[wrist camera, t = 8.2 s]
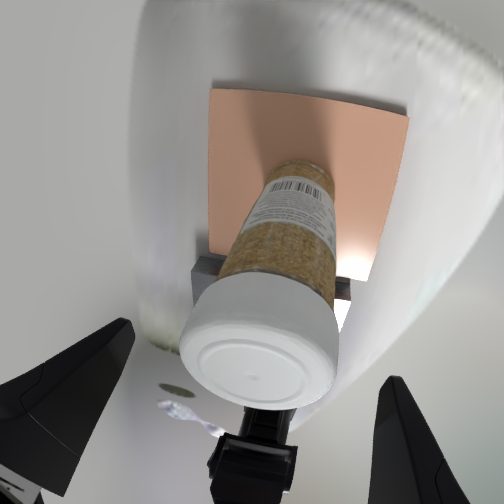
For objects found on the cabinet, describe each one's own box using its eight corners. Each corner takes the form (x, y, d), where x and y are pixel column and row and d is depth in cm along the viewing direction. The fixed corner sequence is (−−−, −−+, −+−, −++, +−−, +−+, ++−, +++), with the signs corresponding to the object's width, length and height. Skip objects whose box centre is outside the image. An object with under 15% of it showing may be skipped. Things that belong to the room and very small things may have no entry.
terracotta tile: (365, 276, 21) (366, 281, 21) (211, 248, 23) (209, 252, 23) (407, 116, 15) (409, 117, 14) (213, 88, 17) (209, 88, 16)
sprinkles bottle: (255, 206, 20) (164, 379, 9) (281, 145, 17) (190, 289, 6) (317, 234, 20) (290, 427, 9) (349, 177, 17) (372, 364, 6)
